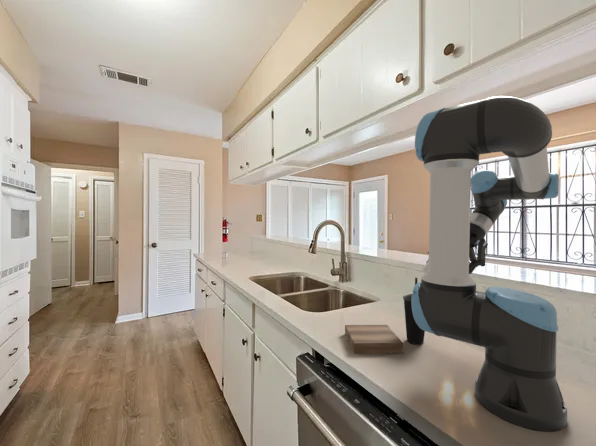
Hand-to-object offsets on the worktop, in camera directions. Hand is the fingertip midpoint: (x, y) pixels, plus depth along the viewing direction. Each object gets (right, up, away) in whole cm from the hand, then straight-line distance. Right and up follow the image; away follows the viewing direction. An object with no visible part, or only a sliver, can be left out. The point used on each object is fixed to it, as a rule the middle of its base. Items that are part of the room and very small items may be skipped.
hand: (440, 275), depth 95 cm
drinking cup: (-10, -20, -4) cm, 23 cm away
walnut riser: (-24, -20, -5) cm, 31 cm away
